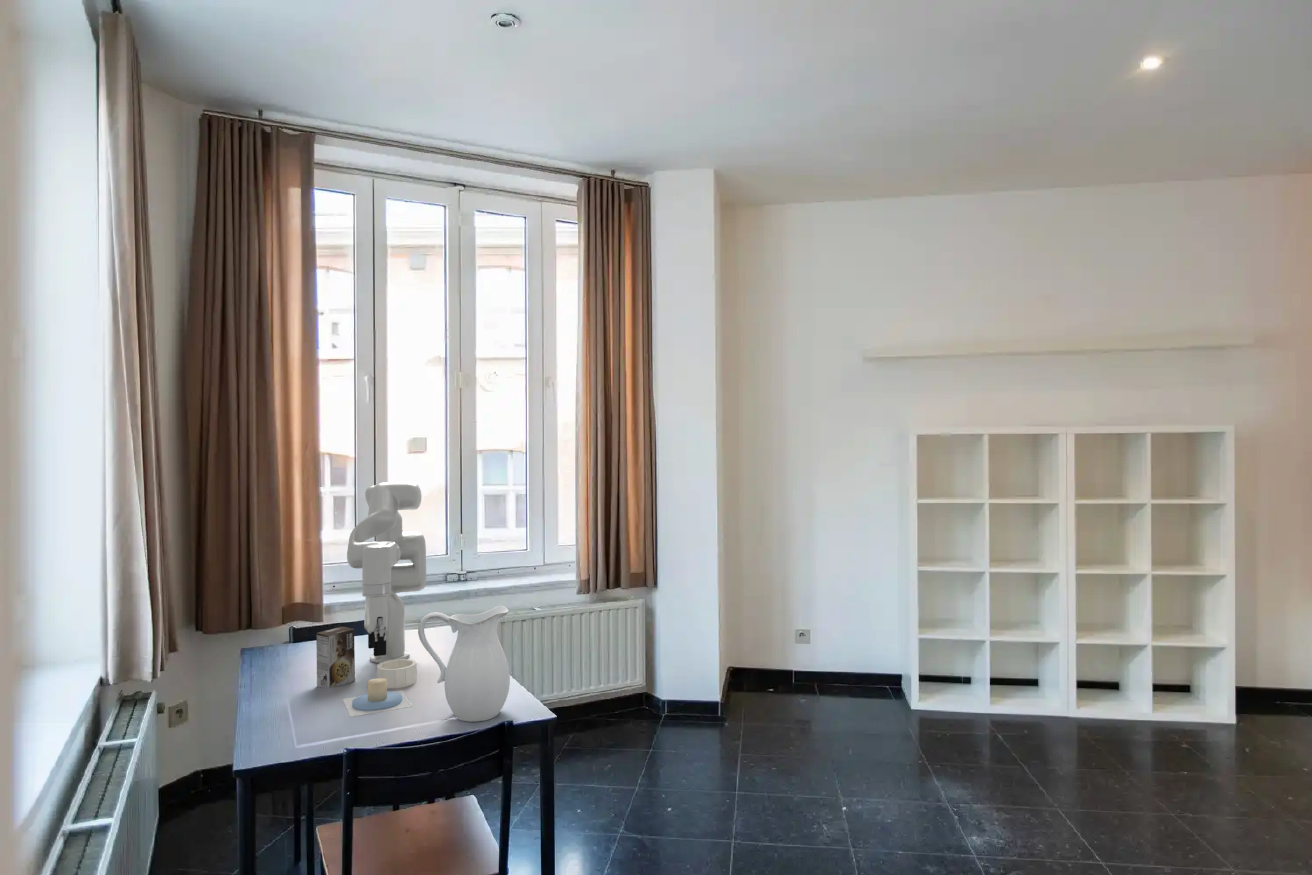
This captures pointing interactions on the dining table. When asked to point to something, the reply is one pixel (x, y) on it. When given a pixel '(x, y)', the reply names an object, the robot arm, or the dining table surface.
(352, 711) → the mat
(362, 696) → the lid
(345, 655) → the coffee box
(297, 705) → the dining table surface
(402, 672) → the bowl
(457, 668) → the pitcher
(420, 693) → the dining table surface
